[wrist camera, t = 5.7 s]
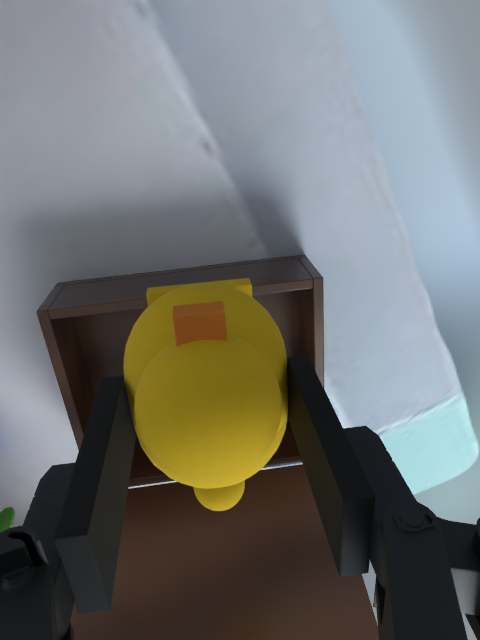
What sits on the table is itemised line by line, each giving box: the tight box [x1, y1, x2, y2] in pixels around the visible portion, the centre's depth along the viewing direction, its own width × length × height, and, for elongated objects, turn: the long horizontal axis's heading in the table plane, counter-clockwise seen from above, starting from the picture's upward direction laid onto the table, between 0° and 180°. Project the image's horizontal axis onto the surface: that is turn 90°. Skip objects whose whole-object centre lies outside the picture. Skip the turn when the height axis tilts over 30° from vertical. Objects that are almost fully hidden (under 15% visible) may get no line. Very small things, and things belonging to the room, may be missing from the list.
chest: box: [37, 255, 324, 487], centre depth 35 cm, size 15×18×5 cm
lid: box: [70, 464, 379, 640], centre depth 30 cm, size 16×18×5 cm
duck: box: [124, 278, 288, 511], centre depth 16 cm, size 9×6×10 cm, turn 4°
